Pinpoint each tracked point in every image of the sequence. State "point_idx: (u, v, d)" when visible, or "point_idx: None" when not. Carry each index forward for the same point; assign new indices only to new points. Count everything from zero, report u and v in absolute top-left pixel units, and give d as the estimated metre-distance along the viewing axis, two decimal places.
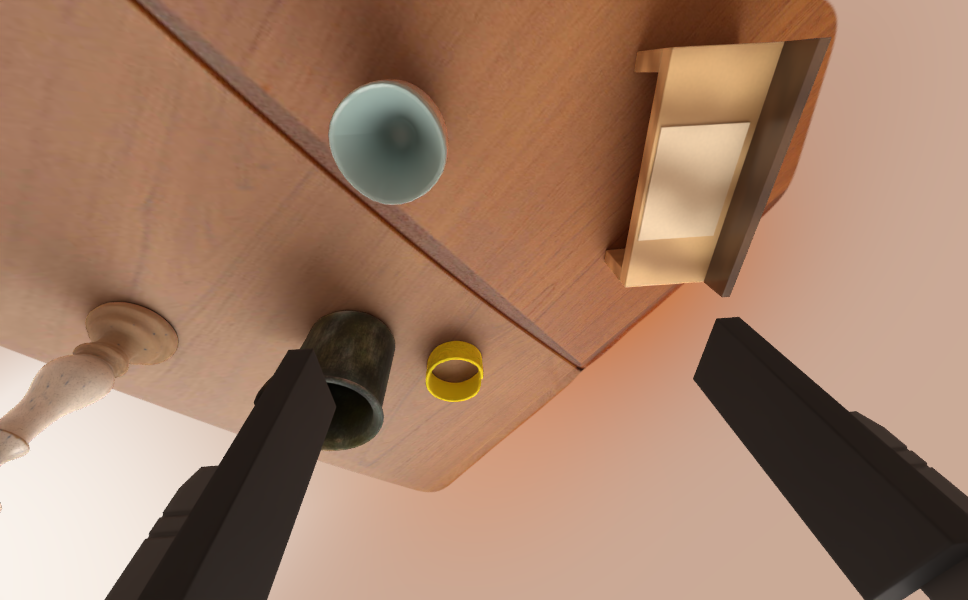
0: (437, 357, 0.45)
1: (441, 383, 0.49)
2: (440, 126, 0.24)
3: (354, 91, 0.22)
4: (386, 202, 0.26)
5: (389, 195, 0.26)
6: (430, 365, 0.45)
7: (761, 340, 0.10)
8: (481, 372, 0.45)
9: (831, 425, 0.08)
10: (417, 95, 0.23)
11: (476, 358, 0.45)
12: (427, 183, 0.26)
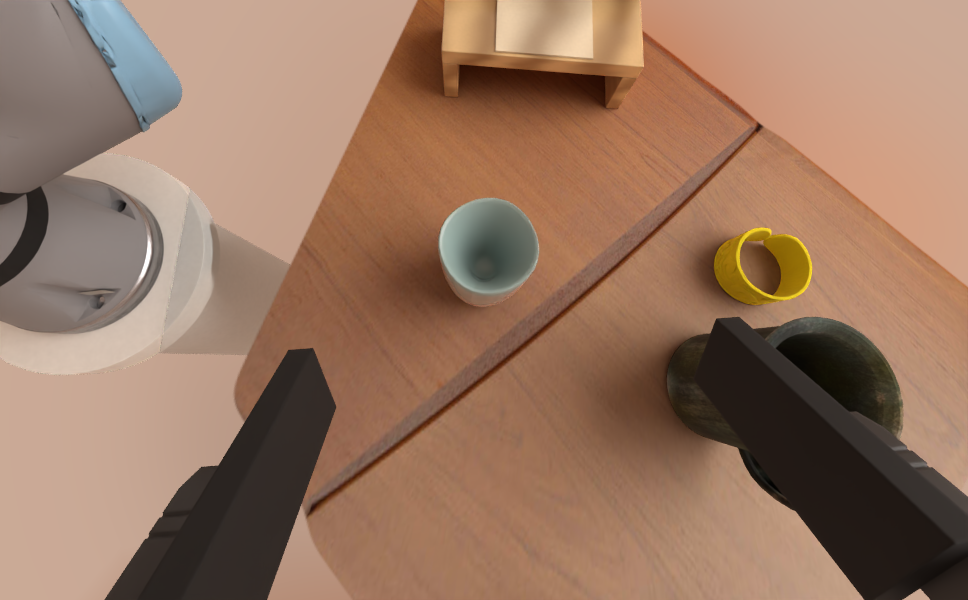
0: (736, 282, 0.36)
1: (780, 290, 0.38)
2: (475, 200, 0.28)
3: (442, 260, 0.26)
4: (536, 257, 0.27)
5: (530, 256, 0.27)
6: (749, 291, 0.35)
7: (761, 340, 0.10)
8: (760, 229, 0.36)
9: (831, 425, 0.08)
10: None
11: (739, 236, 0.37)
12: (521, 219, 0.28)
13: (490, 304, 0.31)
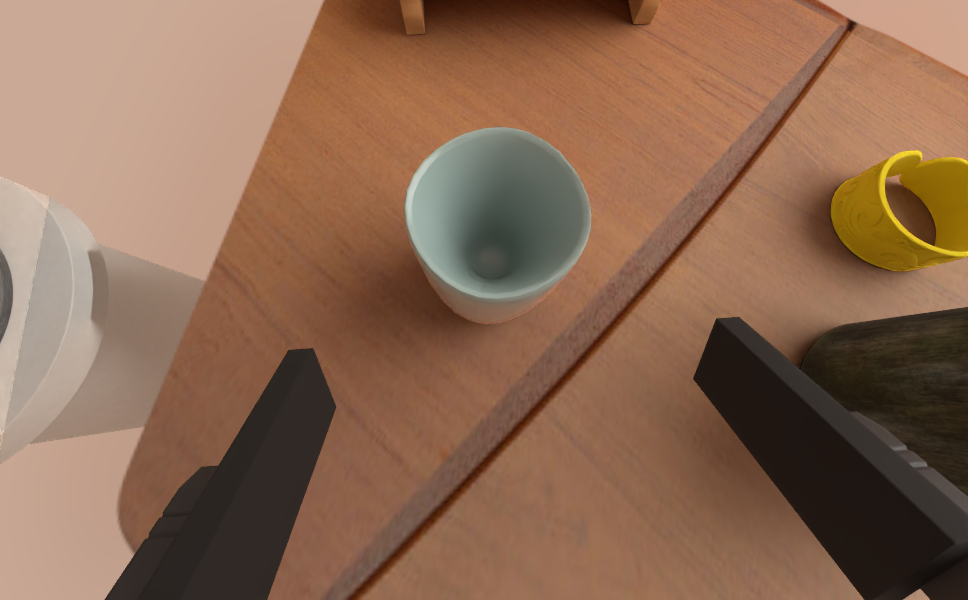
0: (882, 239, 0.23)
1: (943, 243, 0.25)
2: None
3: (415, 247, 0.14)
4: (587, 221, 0.14)
5: (575, 222, 0.15)
6: (909, 249, 0.23)
7: (761, 340, 0.10)
8: (908, 153, 0.23)
9: (831, 425, 0.08)
10: (422, 163, 0.15)
11: (871, 170, 0.24)
12: (549, 159, 0.15)
13: (510, 318, 0.18)
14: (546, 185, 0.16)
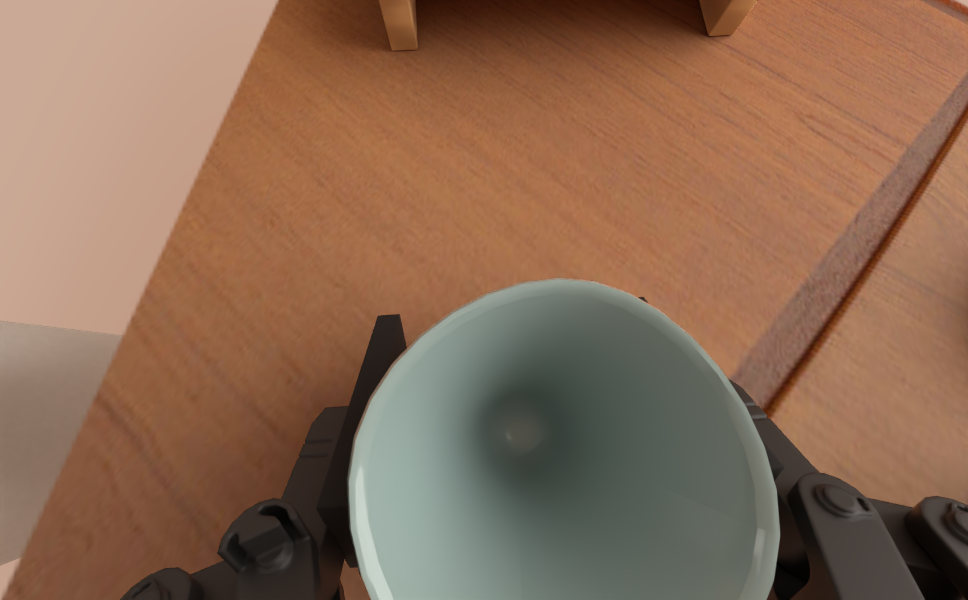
0: None
1: None
2: None
3: (371, 598, 0.06)
4: (772, 518, 0.06)
5: (729, 497, 0.07)
6: None
7: None
8: None
9: None
10: (393, 363, 0.07)
11: None
12: (667, 346, 0.07)
13: None
14: (649, 382, 0.08)
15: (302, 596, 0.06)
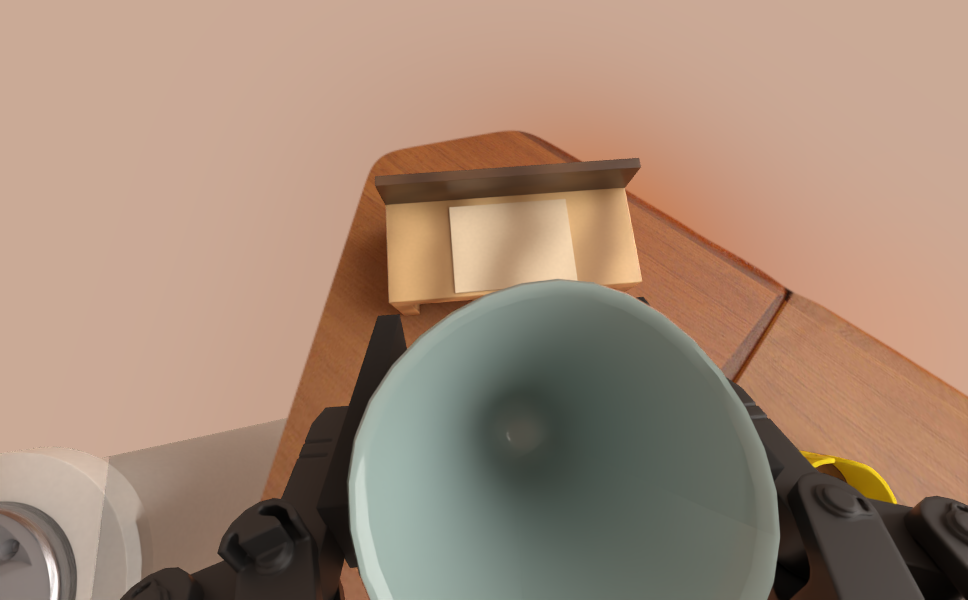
0: None
1: None
2: None
3: None
4: (772, 519, 0.06)
5: (729, 499, 0.07)
6: None
7: None
8: (821, 462, 0.28)
9: None
10: None
11: None
12: (667, 347, 0.07)
13: None
14: (649, 383, 0.08)
15: (302, 596, 0.06)
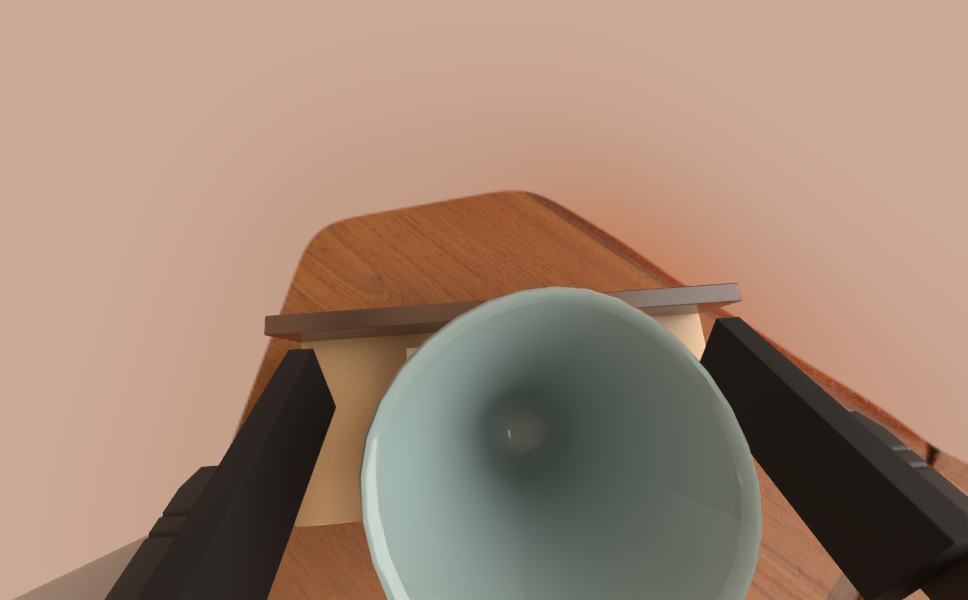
0: None
1: None
2: None
3: (382, 585, 0.06)
4: (755, 511, 0.07)
5: (716, 492, 0.07)
6: None
7: (761, 340, 0.10)
8: None
9: (831, 425, 0.08)
10: (401, 366, 0.07)
11: None
12: (659, 351, 0.08)
13: None
14: (642, 384, 0.08)
15: None
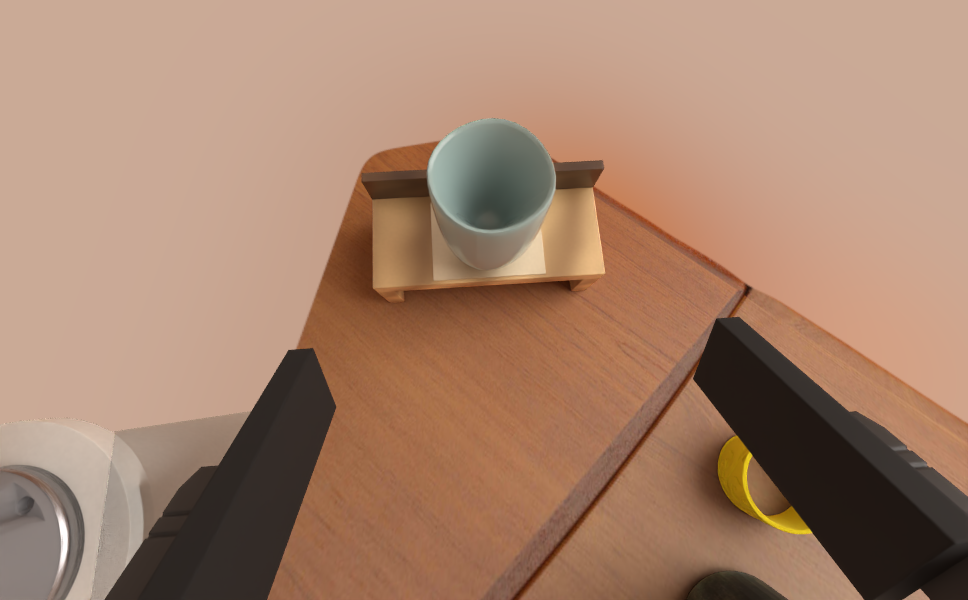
0: (747, 508, 0.30)
1: None
2: None
3: (435, 199, 0.21)
4: (553, 182, 0.21)
5: (545, 185, 0.22)
6: (764, 522, 0.30)
7: (761, 340, 0.10)
8: None
9: (831, 425, 0.08)
10: None
11: (743, 447, 0.31)
12: (528, 140, 0.22)
13: (501, 260, 0.25)
14: (526, 160, 0.23)
15: None
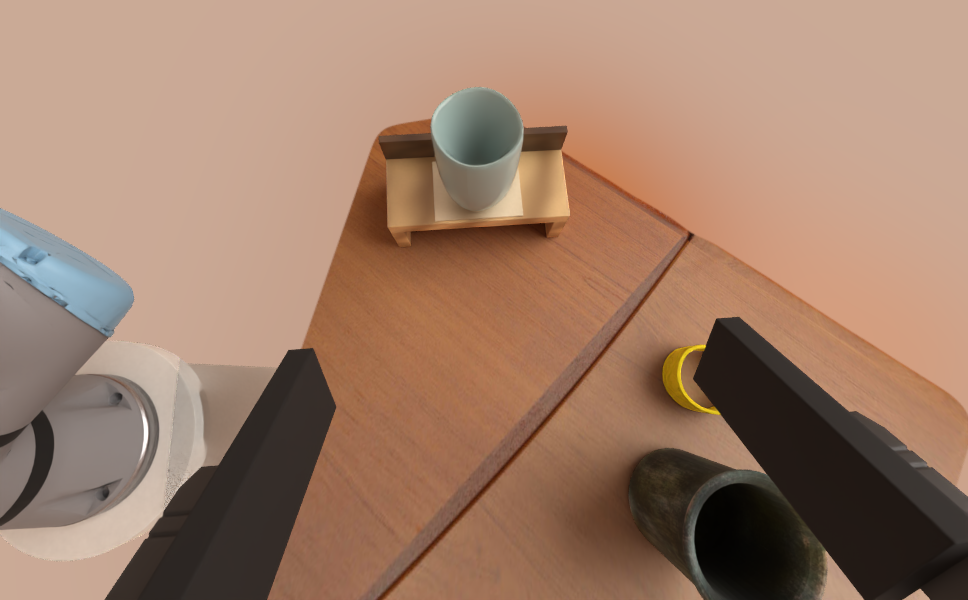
0: (682, 398, 0.39)
1: None
2: None
3: (436, 144, 0.29)
4: (521, 132, 0.29)
5: (516, 135, 0.30)
6: (694, 407, 0.38)
7: (761, 340, 0.10)
8: (697, 347, 0.39)
9: (831, 425, 0.08)
10: (439, 105, 0.30)
11: (680, 353, 0.40)
12: (504, 103, 0.30)
13: (486, 196, 0.33)
14: (503, 118, 0.31)
15: None
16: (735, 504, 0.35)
